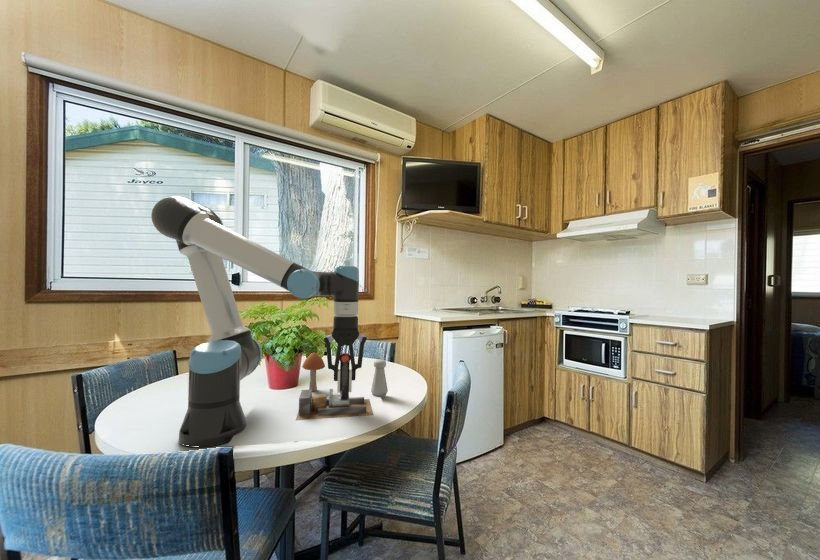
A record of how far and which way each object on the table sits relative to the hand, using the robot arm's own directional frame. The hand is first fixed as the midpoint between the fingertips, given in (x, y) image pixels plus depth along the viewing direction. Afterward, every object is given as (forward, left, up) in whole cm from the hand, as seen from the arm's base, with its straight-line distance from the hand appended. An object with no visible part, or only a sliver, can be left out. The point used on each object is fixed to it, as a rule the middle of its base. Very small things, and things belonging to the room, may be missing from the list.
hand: (344, 390), depth 105 cm
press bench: (-2, 0, -7) cm, 7 cm away
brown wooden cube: (-7, 0, -5) cm, 9 cm away
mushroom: (-10, +19, -7) cm, 23 cm away
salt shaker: (+13, +12, -7) cm, 19 cm away
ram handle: (-1, 0, -5) cm, 5 cm away
